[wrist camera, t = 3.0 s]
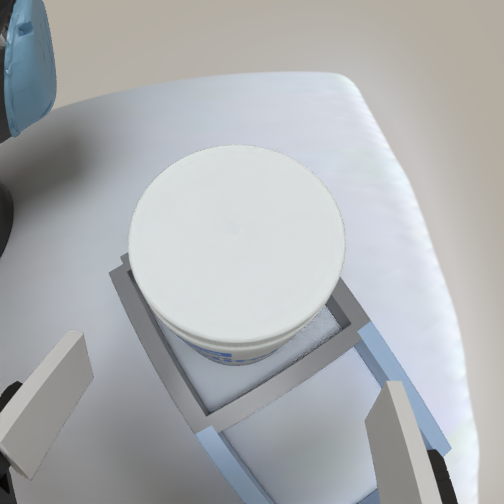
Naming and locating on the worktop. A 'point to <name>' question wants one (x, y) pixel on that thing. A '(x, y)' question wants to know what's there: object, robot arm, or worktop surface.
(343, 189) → the worktop surface
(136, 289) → the bay frame
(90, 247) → the worktop surface
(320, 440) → the worktop surface
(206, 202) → the supplement tub
